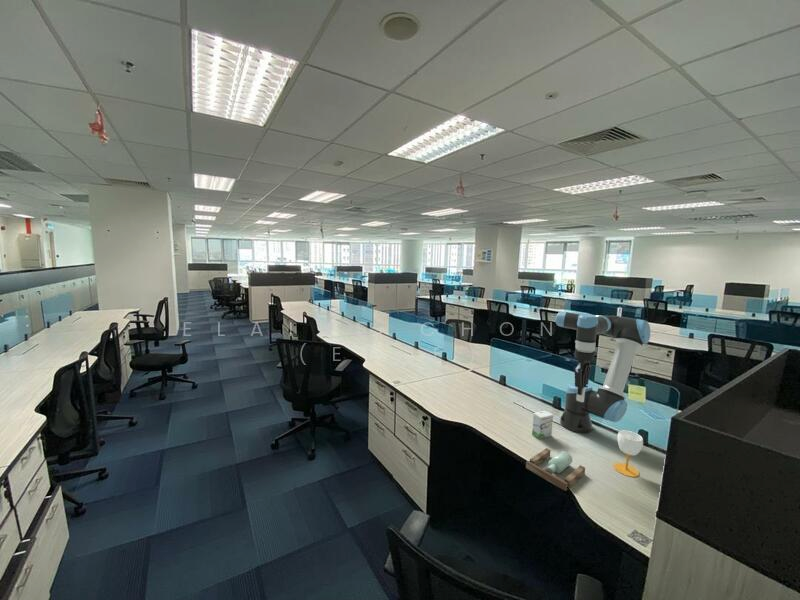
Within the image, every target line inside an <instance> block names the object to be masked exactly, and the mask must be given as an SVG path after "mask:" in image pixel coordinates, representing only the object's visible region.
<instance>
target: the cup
mask: <svg viewBox="0 0 800 600" xmlns="http://www.w3.org/2000/svg"><path fill="white" fill-rule="evenodd" d="M617 444H618V447H619V450H620V451H621V452H622V453H623V454H624V455H626V460H625V463H624V462H617V463H614V464H613V467H614V470H615V471H616V472H618V473H619V474H621V475H624V476H626V477H630V478H637V477H639V476H640V472H639V470H638V469H637V468H635V467H633V465H629V460H630V457H634V456H637V455H638V454H639V453H641V451H642V449H643V446H644V439H643V437H642V435H640V434H638V433H636V432H634V431H630V430H626V429H622V430H619V431H618V432H617Z"/></svg>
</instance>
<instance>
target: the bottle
mask: <svg viewBox="0 0 800 600" xmlns="http://www.w3.org/2000/svg"><path fill="white" fill-rule="evenodd" d="M572 463H573V457H572V455H571V454H570V453H569V452H567V451H565V450H562V451H560V452H559V453H557V454H556V455H555V456H554V457H552V458H551V459H550V460H548V463H547V465H548V466H546V467H545V468H543V470H545V471H547V472H549V473H551V474H552V475H554V474H553V473H555V474H560V473H562V472H563V471H564V470H565V469H566V468H568V467H569V466H570V465H572Z"/></svg>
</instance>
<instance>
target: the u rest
mask: <svg viewBox="0 0 800 600" xmlns="http://www.w3.org/2000/svg"><path fill="white" fill-rule="evenodd" d="M551 451H552V450H551V449H549V448H547V447H546V448H544V449H543V450H541V451H540V452H538V453H537V454H535V455H534V456H532V457H531V458H529V460H526V462H525V469H527V470H528V471H529V472H531V473H534V474H535V475H537V476H538V477H540V478H542V479H544V480H546V481H547V482H549V483H551V484H552V485H554V486H556V487H557V488H560V489H561V490H563V491H564V492H566V491H568V489H570V488H571V487H573V485H574V484H576V483H577V482H578V481H579V480H580V479H581V478H582V477H583V476H584V475H585V473H586V467H584V466H582V465H581V464H580V465H579V466H578V467H576V468H575V469H574V470H573V471H572V472H571V473H569V474H568V475H567V476H566V477H565V478H564V479H561V478H559V477H557V476H556V475H554V474H551V473H549V472H547V471H545V470H544V468H542V467H540V466H538V465H540V464H541V463H543V462H544V461H545V460H547V459H549V457H551ZM567 487H568V488H567Z"/></svg>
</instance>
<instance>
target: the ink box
mask: <svg viewBox="0 0 800 600" xmlns="http://www.w3.org/2000/svg"><path fill="white" fill-rule="evenodd" d="M532 415H533V418H532V431H531V432H532V433H531V434H532V436H534V437H535V438H536V439H538V440H542V439H545V438H548V437H552V431H553V420H554V414H553V413H551V412H549V411H547V410H542V411H535V412H534V413H533V414H532Z"/></svg>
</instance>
